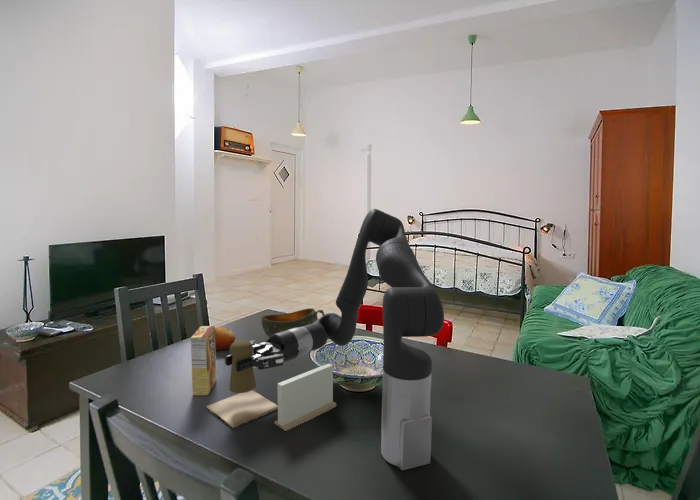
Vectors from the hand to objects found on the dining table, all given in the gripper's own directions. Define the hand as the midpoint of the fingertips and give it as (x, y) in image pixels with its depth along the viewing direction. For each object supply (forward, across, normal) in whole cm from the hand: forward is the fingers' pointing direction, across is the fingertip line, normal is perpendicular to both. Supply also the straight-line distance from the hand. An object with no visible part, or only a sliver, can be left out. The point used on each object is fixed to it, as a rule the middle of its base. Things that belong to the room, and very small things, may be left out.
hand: (231, 364), depth 92 cm
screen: (-11, +13, +12) cm, 21 cm away
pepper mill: (-3, 0, +7) cm, 7 cm away
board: (-2, 0, +12) cm, 12 cm away
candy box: (-1, -16, +12) cm, 20 cm away
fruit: (-18, -38, +12) cm, 44 cm away
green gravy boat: (-40, -30, +13) cm, 52 cm away
